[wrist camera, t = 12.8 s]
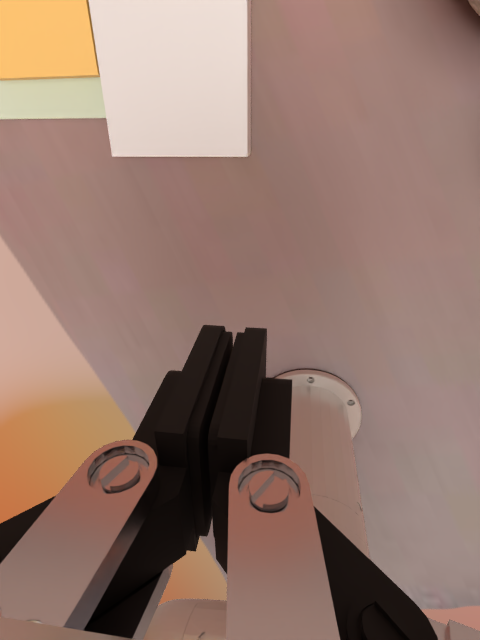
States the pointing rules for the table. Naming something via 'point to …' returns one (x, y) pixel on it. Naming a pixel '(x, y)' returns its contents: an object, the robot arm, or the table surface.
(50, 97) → the mat
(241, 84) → the white flat block
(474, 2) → the planter
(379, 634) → the robot arm
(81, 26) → the yellow orange rectangular block
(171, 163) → the table surface
